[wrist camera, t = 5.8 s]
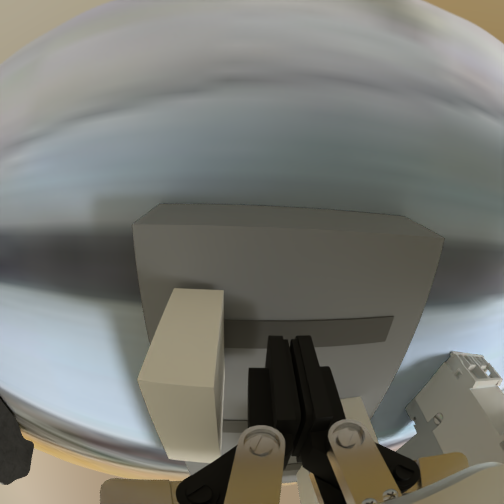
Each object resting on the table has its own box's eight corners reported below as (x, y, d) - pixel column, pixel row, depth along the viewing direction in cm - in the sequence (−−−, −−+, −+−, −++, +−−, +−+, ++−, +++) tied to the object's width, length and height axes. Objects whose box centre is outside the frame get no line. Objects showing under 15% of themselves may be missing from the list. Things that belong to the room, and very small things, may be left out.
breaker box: (404, 216, 14) (522, 289, 6) (322, 449, 24) (338, 517, 15) (152, 203, 14) (43, 288, 5) (192, 451, 23) (185, 524, 14)
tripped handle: (223, 290, 11) (213, 387, 6) (224, 376, 13) (220, 463, 8) (173, 288, 11) (136, 379, 6) (185, 373, 12) (169, 458, 8)
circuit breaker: (372, 438, 24) (406, 538, 10) (452, 351, 19) (527, 461, 5) (412, 433, 25) (446, 516, 11) (482, 355, 21) (545, 440, 7)
